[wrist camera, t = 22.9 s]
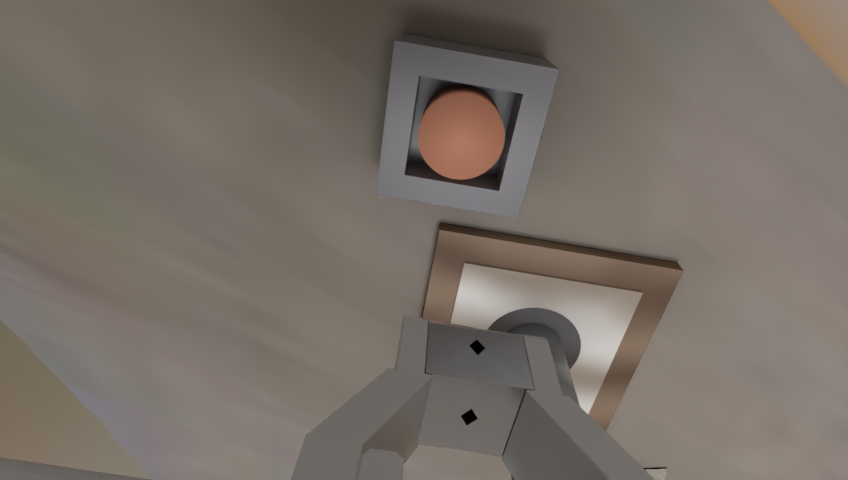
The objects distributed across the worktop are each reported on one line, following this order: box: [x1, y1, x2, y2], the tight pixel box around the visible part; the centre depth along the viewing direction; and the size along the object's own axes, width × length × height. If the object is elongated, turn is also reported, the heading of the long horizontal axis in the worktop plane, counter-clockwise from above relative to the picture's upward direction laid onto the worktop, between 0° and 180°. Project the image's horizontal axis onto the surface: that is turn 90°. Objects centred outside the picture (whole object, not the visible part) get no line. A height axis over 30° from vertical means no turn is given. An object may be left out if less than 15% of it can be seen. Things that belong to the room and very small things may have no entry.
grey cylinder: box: [506, 323, 580, 480], centre depth 29 cm, size 5×5×12 cm
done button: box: [418, 85, 505, 180], centre depth 26 cm, size 4×4×3 cm
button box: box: [376, 33, 559, 218], centre depth 27 cm, size 8×8×4 cm
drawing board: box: [422, 223, 683, 432], centre depth 35 cm, size 18×16×1 cm
